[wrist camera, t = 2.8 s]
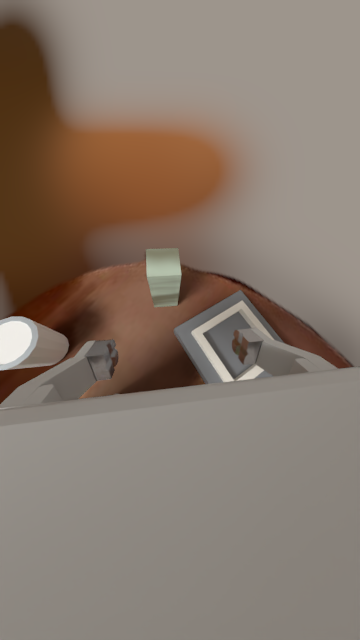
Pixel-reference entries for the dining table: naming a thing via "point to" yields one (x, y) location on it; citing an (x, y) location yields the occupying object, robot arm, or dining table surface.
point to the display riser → (222, 339)
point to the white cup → (29, 344)
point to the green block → (164, 276)
